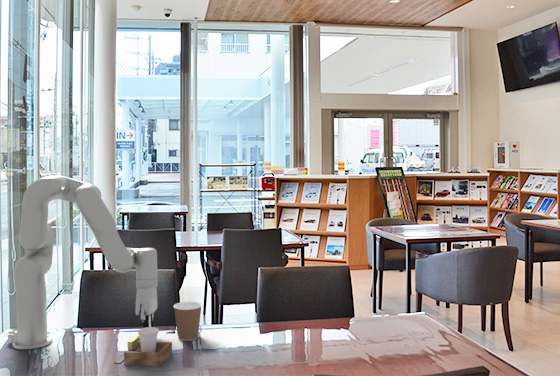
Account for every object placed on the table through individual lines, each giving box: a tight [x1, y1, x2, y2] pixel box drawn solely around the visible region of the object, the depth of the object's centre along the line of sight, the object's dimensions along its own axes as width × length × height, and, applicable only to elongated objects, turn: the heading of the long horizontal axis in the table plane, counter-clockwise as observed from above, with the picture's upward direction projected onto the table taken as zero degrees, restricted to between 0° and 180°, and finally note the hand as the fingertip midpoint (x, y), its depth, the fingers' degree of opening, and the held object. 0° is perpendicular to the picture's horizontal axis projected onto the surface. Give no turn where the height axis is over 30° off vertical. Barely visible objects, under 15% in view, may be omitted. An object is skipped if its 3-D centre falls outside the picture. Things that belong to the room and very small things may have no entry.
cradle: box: [113, 340, 173, 368], centre depth 179 cm, size 15×20×4 cm
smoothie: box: [137, 317, 159, 352], centre depth 174 cm, size 6×6×14 cm
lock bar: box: [127, 333, 140, 351], centre depth 185 cm, size 2×10×3 cm, turn 173°
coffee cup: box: [172, 301, 203, 342], centre depth 196 cm, size 10×10×12 cm
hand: (148, 332), depth 196 cm, fingers closed
